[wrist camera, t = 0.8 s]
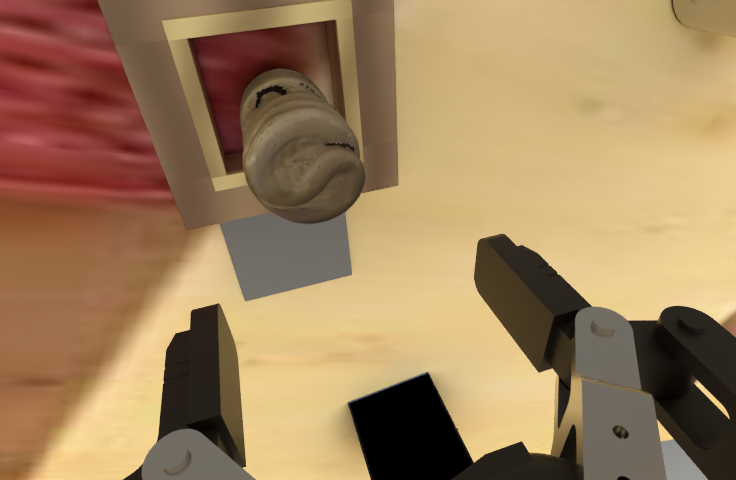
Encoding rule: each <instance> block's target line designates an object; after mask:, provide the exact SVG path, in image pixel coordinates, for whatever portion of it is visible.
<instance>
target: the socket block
mask: <svg viewBox="0 0 736 480" xmlns="http://www.w3.org/2000/svg"><path fill="white" fill-rule="evenodd" d="M98 3H99V5H100V8H101V11H102V13H103V16H104V18H105V21H106V23H107V26H108V29H109V31H110V34H111V36H112V39H113V42H114V44H115V47H116V49H117V52H118V55H119V57H120V60H121V62H122V65H123V67H124V70H125V73H126V75H127V78H128V80H129V83H130V86H131V88H132V91H133V93H134V96H135V99H136V101H137V104H138V106H139V109H140V111H141V114H142V117H143V119H144V122H145V124H146V127H147V130H148V132H149V135H150V137H151V140H152V143H153V145H154V148H155V150H156V153H157V155H158V158H159V161H160V163H161V166H162V168H163V171H164V174H165V176H166V179H167V181H168V184H169V187H170V189H171V192H172V194H173V197H174V199H175V202H176V205H177V207H178V210H179V212H180V215H181V218H182V220H183V223H184V225H185V228H186V230H190V229H195V228H200V227H204V226H209V225H214V224H218V223H223V222H228V221H233V220H237V219H242V218H247V217H251V216H256V215H261V214H266V213H270V211H269V210H268V209H267V208H265V207H264V206H263V205H262V204H261V203H260V202H259V201H258V199H257V198H256V197H255V195H254V194H253V192H252V191H251V189H250V188H249V186H248V184H247V182H246V178H245V174H244V170H243V158H242V156H243V152H238V153H233V154H227V155H225V153H224V150H223V146H222V143H221V139H220V136H219V132H218V129H217V125H216V122H215V118H214V115H213V111H212V108H211V104H210V101H209V97H208V94H207V90H206V87H205V83H204V80H203V76H202V73H201V69H200V66H199V62H198V58H197V55H196V51H195V48H194V44H193V41H192V38H195V37H203V36H211V35H219V34H226V33H234V32H242V31H250V30H258V29H266V28H273V27H281V26H289V25H297V24H305V23H313V22H320V21H325V24H326V33H327V42H328V51H329V60H330V69H331V78H332V87H333V96H334V105H335V110H337V111H338V112H339V113H340V115H341V116H342V117H343V118H344V119H345V121H346V123H347V125H348V126H349V127H350V128H351V129H352V131H353V132H354V134H355V136H356V138H357V140H358V143H359V150H360V160H361V161H362V163H363V166H364V168H365V178H366V179H365V184H364V187H363V190H362V192H361V193H365V192H369V191H374V190H379V189H384V188H388V187H393V186H398V150H397V111H396V72H395V33H394V0H98Z"/></svg>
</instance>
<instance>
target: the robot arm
mask: <svg viewBox="0 0 736 480" xmlns="http://www.w3.org/2000/svg"><path fill="white" fill-rule="evenodd" d="M673 6H674V11H675V13H676V16H677V18H678V19H679V21H680V22H681V23H682V24H683V25H685V26H687V27H689V28H692V29H697V30H702V31H707V32H712V33H717V34H722V35H726V36H731V37H735V38H736V0H673ZM474 280H475V285H476V288H477V290H478V292H479V294H480V295H481V297H482V298H483V299H484V301H485V302H486V303H487V305H488V306H489V307H490V309H491V310H492V311H493V313H494V314H495V315H496V316H497V318H498V319H499V320H500V322H501V323H502V324H503V326H504V327H505V328H506V330H507V331H508V332H509V334H510V335H511V336H512V338H513V339H514V340H515V342H516V343H517V344H518V346H519V347H520V348H521V350H522V351H523V352H524V354H525V355H526V356H527V358H528V359H529V360H530V362H531V363H532V364H533V366H534V367H535V368H536V370H537V371H538V372H542V371H545V370H548V369H551V368H553V369H554V371H555V372H556V373H557V377H556V383H555V414H554V438H553V445H552V450H551V455H547V454H541V453H529V452H528V451H527V449H526V447H525V446H524V444H523V443H522V441H521V442H519V443H516V444H513V445H510V446H508V447H505V448H502V449H499V450H496V451H494V452H491V453H488V454H485V455H484V456H483V457H481V458H480V459H479V460H477V461H476V462H475V463H473V464H472V465H471V466H469V467H468V468H467V469H465V470H464V471H463V472H461V473H460V474H459V475H457V476H456V477H455V478H453V479H450V480H667V478H666V472H665V466H664V461H663V454H662V448H661V442H660V436H659V430H658V424H657V420H658V421H659V422H660V423H661V424H662V425H663V427H664V428H665V429H666V430H667V431H668V433H669V434H670V435H671V436H672V437H673V438H674V440H675V441H676V442H677V443H678V444H679V445H680V447H681V448H682V449H683V450H684V451H685V452H686V454H687V455H688V456H689V457H690V458H691V460H692V461H693V462H694V463H695V464H696V466H697V467H698V468H699V469H700V470H701V471H702V473H703V474H704V475H705V476H706V477H707V479H708V480H736V337H734V336H733V335H732V334H731V333H729V332H728V331H727V330H726V329H725V328H723V327H722V326H721V325H720V324H719V323H717V322H716V321H715V320H714V319H713V318H711V317H710V316H708V315H707V314H705V313H703V312H701V311H699V310H696V309H693V308H689V307H684V306H672V307H668V308H666V309H664V310H663V311H662V313H661V315H660V317H659V319H658V321H627V320H626V319H625V318H624V317H623V316H621V315H620V314H618V313H616V312H614V311H612V310H610V309H607V308H602V307H592V306H591V305H590V304H589V303H588V302H587V301H586V300H585V299H584V298H583V297H582V296H581V295H580V294H579V293H578V292H577V291H576V290H575V289H574V288H573V287H572V286H571V285H570V284H568V283H567V282H566V281H565V280H564V279H563V278H562V277H561V276H560V275H558V274H557V272H556V271H555V270H554V269H553V268H552V267H551V266H549V265H548V263H547V262H546V261H545V260H544V259H543V258H542V257H541V256H540V255H539V254H538V253H536V252H534V251H532V250H530V249H528V248H526V247H524V246H523V245H521V246H516V245H515V244H514V243H513V242H512V241H511V240H510V239H509V238H508V237H507V236H506V235H505V234H499V235H495V236H491V237H487V238H483V239H480V240H479V241H478V245H477V254H476V263H475V272H474ZM696 380H698V381H699V382H700V383H701V384H702V385H703V386H704V387H705V388H706V389H707V390H708V391H709V392H710V393H711V394H712V395H713V396H714V397H715V398H716V399H717V400H718V401H719V402H720V403H721V404H722V405H723V406H724V407H725V409H726V410H727V412H728V414H729V417H730V420H729V419H728V418H727V416H726V415H725V414H724V413H723V412H722V411H721V410H720V409H719V408H718V407H717V406H716V405H715V404H714V403H713V402H712V401H711V400H710V399H709V398H708V397H707V396H706V395H705V394H704V393H703V392H702V391H701V390H700V389H699V388H698V387H697V386H696V385H695V384H694V383H695V381H696ZM243 467H246V459H245V446H244V433H243V420H242V407H241V394H240V380H239V367H238V357H237V351H236V346H235V343H234V339H233V337H232V334H231V331H230V329H229V326H228V323H227V321H226V318H225V315H224V313H223V310H222V308H221V306H220V304H215V305H211V306H207V307H203V308H199V309H194V310H192V311H191V323H190V330H188V331H184V332H180V333H176V334H175V336H174V337H173V339H172V341H171V343H170V344H169V346H168V348H167V350H166V359H165V370H164V384H163V392H162V403H161V413H160V424H159V434H158V440H157V443H156V444H155V445H154V446H153V447H152V448H151V450H150V451H149V452H148V454H147V456H146V458H145V460H144V462H143V464H142V465H141V466H140V467H139V468H138V469H137V470H136V471H135V472H134V473H132V474H131V475H129V476H128V477H126V478H125V479H123V480H256V479H254V478H253V477H252V476H251V475H250V474H249V473H247V472H246V471H245V470H244V469H243Z"/></svg>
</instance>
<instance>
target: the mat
mask: <svg viewBox="0 0 736 480" xmlns="http://www.w3.org/2000/svg"><path fill="white" fill-rule="evenodd" d="M220 225H221V228H222V232H223V235H224V238H225V241H226V244H227V247H228V250H229V253H230V256H231V259H232V262H233V265H234V268H235V271H236V274H237V278H238V281H239V284H240V287H241V290H242V293H243V296H244V299H245V301H249V300H253V299H257V298H261V297H265V296H269V295H273V294H277V293H281V292H285V291H289V290H293V289H297V288H301V287H305V286H309V285H313V284H317V283H321V282H325V281H329V280H333V279H337V278H341V277H345V276H349V275H352V269H351V260H350V252H349V243H348V234H347V225H346V217H345V212H344V213H342V214H341V215H339V216H337V217H335V218H333V219H331V220H328V221H325V222H321V223H315V224H302V223H295V222H291V221H288V220H286V219H283V218H281V217H279V216H277V215H275V214H274V213H272V212H270V213H266V214H261V215H256V216H251V217H247V218H242V219H237V220H233V221H228V222H223V223H220Z"/></svg>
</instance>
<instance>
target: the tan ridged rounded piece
mask: <svg viewBox="0 0 736 480" xmlns="http://www.w3.org/2000/svg"><path fill="white" fill-rule="evenodd" d="M240 124H241V131H242V141H243V156H242V158H243V170H244V174H245V178H246V182H247V184H248V186H249V188H250V189H251V191H252V192H253V194H254V195H255V197H256V198H257V199H258V201H259V202H260V203H261V204H262V205H263V206H264V207H265V208H267V209H268V210H269V211H270V212H272V213H274V214H275V215H277V216H279V217H281V218H283V219H286V220H288V221H291V222H295V223H302V224H315V223H321V222H325V221H328V220H331V219H333V218H335V217H337V216H339V215H341V214H342V213H344V212H345V211H346V210H348V209H349V208H350V207H351V206H352V205H353V204H354V203H355V201H356V200H357V199H358V197H359V196H360V194H361V192H362V190H363V187H364V184H365V179H366V178H365V168H364V166H363V163H362V161H361V160H360V150H359V143H358V140H357V138H356V136H355V134H354V132H353V131H352V129H351V128H350V127H349V126H348V125H347V123H346V121H345V119H344V118H343V117H342V116H341V115H340V113H339V112H338V111H337V110H335V109H334V108H333V107H332V106H331V105H330V104H328V102H327V100H326V98H325V96H324V95H323V94H322V92H321V91H320V90H319V88H318V87H317V86H316V85H315V84H314V83H313V82H312V81H311V80H310V79H308V78H307V77H306V76H304V75H303V74H301V73H299V72H297V71H292V70H288V69H274V70H270V71H266V72H264V73H262V74H260V75H258V76H257V77H256V78H255V79H253V80H252V81H251V82H250V84H249V85H248V86H247V87H246V89H245V90H244V93H243V96H242V99H241V105H240Z"/></svg>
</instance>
